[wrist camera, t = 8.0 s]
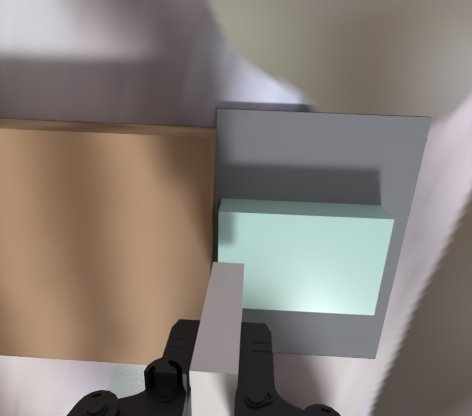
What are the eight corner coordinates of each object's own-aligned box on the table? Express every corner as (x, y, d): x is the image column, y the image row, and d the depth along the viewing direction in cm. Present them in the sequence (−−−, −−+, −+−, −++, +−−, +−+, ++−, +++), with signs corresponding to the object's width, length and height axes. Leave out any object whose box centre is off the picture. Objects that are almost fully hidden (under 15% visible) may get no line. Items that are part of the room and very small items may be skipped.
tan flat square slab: (14, 321, 25) (-16, 354, 22) (-36, 117, 19) (-85, 124, 17) (214, 334, 24) (208, 368, 21) (217, 127, 19) (210, 137, 16)
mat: (214, 345, 24) (213, 348, 24) (217, 108, 19) (216, 109, 18) (373, 355, 24) (375, 358, 24) (428, 116, 18) (431, 117, 18)
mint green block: (220, 287, 22) (217, 307, 20) (221, 198, 20) (218, 211, 18) (363, 294, 22) (373, 315, 20) (381, 205, 20) (394, 219, 18)
